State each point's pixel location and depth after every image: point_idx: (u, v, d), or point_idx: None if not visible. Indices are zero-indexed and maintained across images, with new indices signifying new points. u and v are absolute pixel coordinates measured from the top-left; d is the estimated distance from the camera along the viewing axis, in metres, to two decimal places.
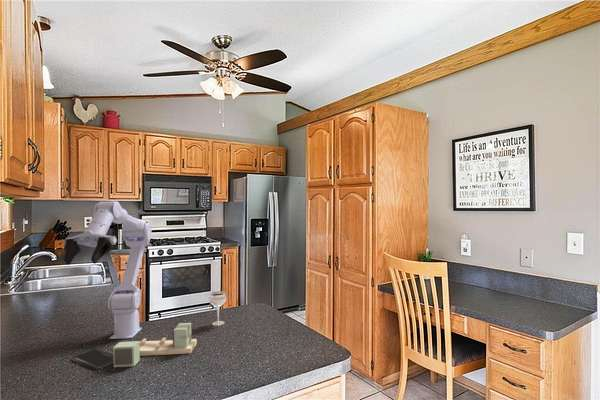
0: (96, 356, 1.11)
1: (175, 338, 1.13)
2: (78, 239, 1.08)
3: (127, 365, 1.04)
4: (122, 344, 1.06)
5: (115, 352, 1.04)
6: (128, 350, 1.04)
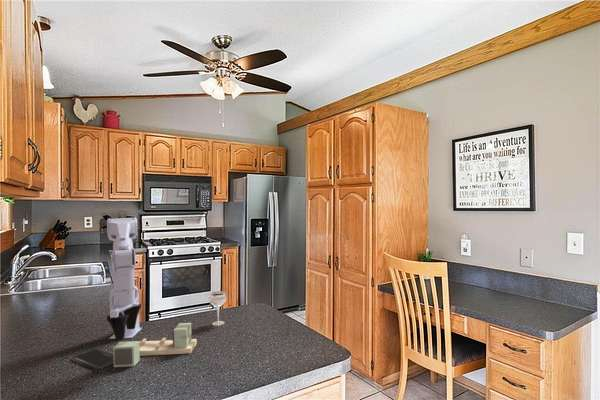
0: (96, 356, 1.11)
1: (175, 338, 1.13)
2: None
3: (127, 365, 1.04)
4: (122, 344, 1.06)
5: (115, 352, 1.04)
6: (128, 350, 1.04)
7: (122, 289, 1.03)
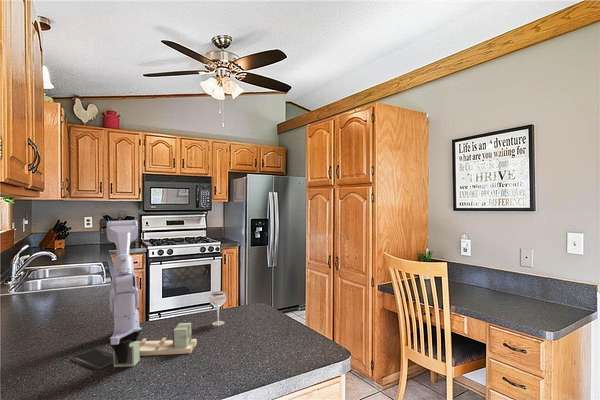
0: (96, 356, 1.11)
1: (175, 338, 1.13)
2: None
3: (127, 365, 1.04)
4: None
5: None
6: (128, 350, 1.04)
7: (123, 315, 1.03)
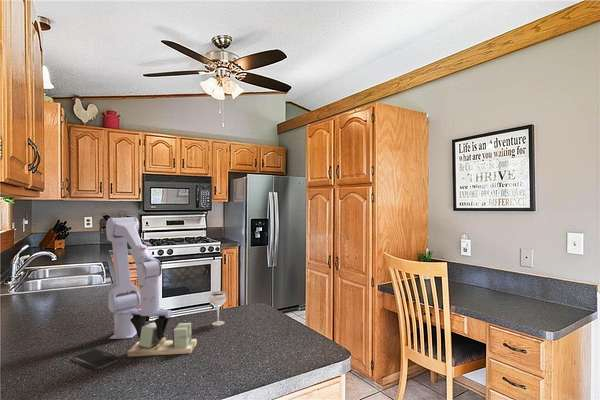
0: (96, 356, 1.11)
1: (175, 338, 1.13)
2: None
3: (157, 342, 1.16)
4: (151, 326, 1.15)
5: (155, 332, 1.13)
6: None
7: (152, 297, 1.13)
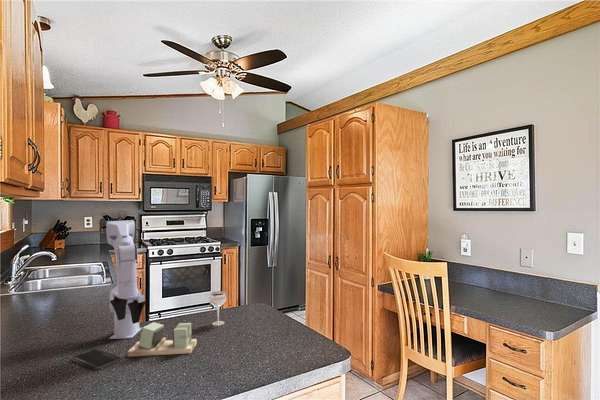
0: (96, 356, 1.11)
1: (175, 338, 1.13)
2: None
3: (157, 343, 1.16)
4: (152, 327, 1.14)
5: (155, 334, 1.13)
6: (162, 329, 1.17)
7: (126, 280, 1.14)
